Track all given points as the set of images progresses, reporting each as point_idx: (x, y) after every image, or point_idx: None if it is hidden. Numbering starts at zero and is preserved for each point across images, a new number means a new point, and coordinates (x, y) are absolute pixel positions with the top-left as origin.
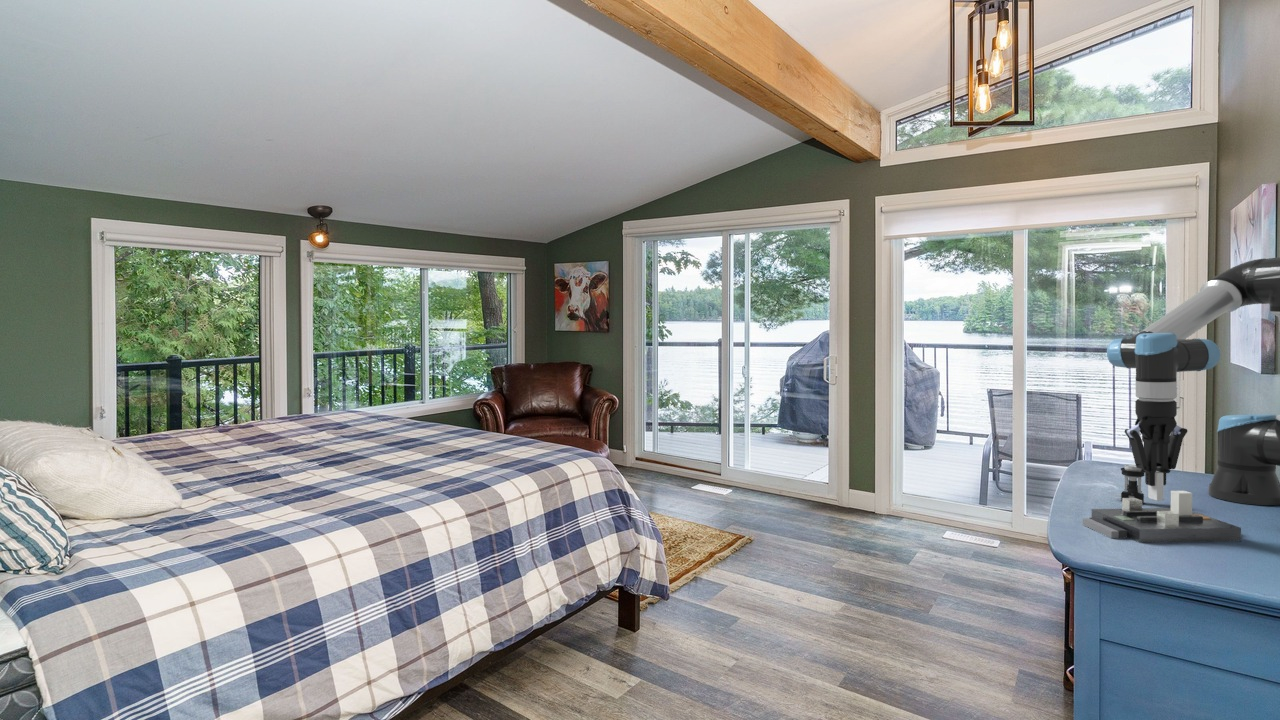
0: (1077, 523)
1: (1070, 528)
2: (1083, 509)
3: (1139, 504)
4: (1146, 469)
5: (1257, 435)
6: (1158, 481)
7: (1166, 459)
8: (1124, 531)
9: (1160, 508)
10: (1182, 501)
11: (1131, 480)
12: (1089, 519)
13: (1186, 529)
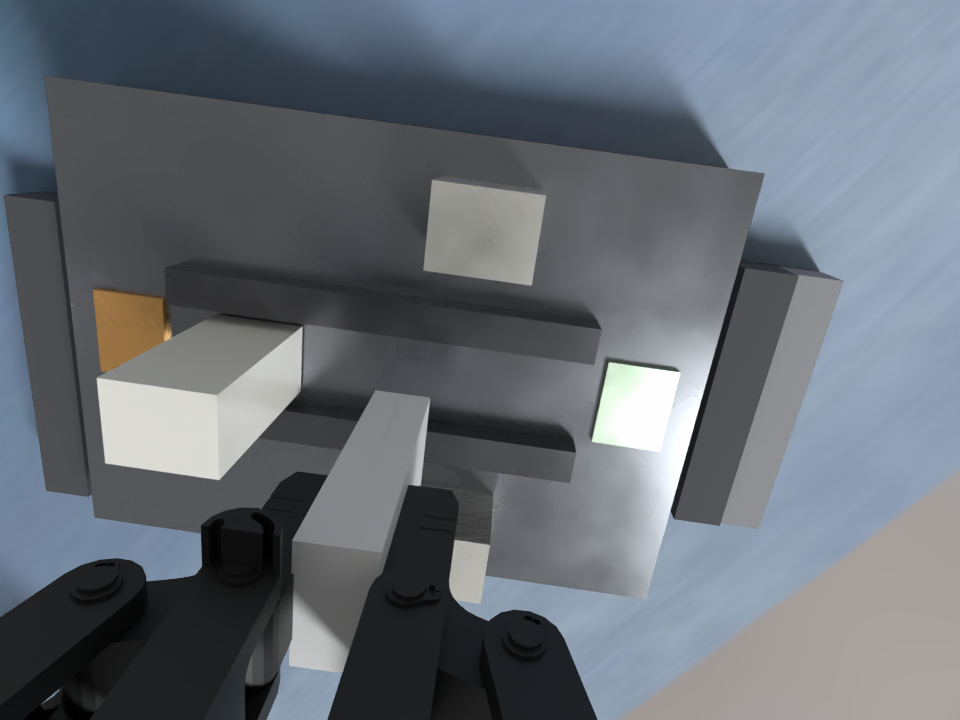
0: (743, 532)
1: (868, 470)
2: None
3: None
4: (522, 616)
5: None
6: (384, 485)
7: (131, 708)
8: (756, 268)
9: None
10: (222, 363)
11: None
12: (739, 504)
13: (428, 128)
